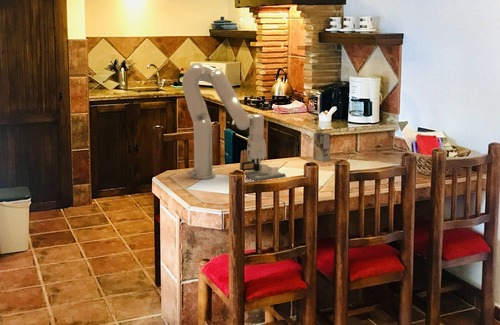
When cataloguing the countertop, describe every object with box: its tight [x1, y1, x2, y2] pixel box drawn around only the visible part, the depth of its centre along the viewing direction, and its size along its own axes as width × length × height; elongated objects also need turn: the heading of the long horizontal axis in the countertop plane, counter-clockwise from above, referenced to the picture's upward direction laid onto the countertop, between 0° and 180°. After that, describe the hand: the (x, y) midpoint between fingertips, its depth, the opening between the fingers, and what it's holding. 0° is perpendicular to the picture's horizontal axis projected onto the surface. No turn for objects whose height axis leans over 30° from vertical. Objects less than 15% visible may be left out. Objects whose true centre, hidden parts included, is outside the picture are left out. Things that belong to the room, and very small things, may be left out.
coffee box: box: [312, 131, 332, 162], centre depth 395 cm, size 9×6×16 cm
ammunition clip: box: [239, 149, 254, 172], centre depth 367 cm, size 11×2×12 cm, turn 123°
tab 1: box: [257, 162, 269, 173], centre depth 357 cm, size 4×4×4 cm
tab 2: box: [268, 164, 279, 175], centre depth 352 cm, size 4×4×4 cm
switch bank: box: [244, 170, 287, 182], centre depth 353 cm, size 20×14×2 cm
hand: (256, 170), depth 354 cm, fingers closed
